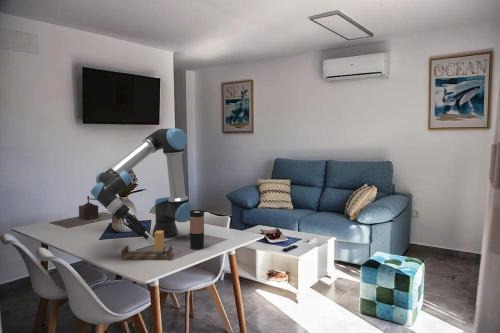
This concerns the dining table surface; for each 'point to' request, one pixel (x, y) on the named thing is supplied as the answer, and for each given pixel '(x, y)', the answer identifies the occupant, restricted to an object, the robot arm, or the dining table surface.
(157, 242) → the fader knob
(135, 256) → the fader rail
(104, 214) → the dining table surface
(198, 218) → the travel mug
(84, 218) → the brown manual coffee grinder
